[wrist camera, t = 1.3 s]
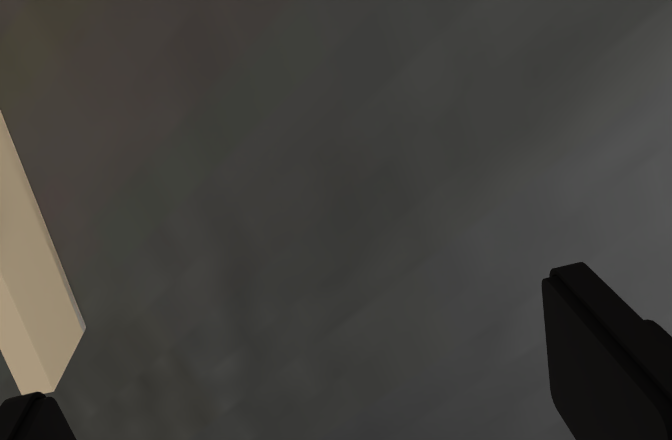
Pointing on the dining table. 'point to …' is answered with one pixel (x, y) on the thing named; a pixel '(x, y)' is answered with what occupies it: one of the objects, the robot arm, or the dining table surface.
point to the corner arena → (31, 285)
